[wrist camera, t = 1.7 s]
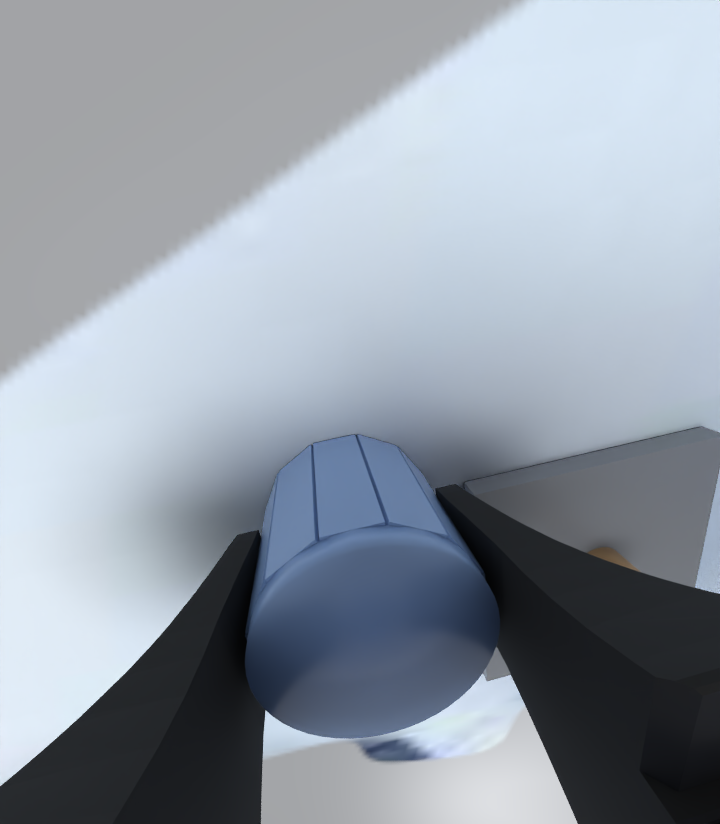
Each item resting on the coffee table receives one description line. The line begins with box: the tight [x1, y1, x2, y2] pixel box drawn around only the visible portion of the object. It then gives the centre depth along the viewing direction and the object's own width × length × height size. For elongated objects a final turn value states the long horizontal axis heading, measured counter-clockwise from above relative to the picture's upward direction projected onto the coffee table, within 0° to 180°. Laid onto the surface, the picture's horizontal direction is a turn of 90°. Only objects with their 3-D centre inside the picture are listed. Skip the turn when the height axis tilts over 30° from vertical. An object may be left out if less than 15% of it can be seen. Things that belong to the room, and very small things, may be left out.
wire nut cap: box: [245, 434, 500, 738], centre depth 10 cm, size 5×5×5 cm
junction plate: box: [464, 427, 720, 681], centre depth 12 cm, size 9×9×4 cm
